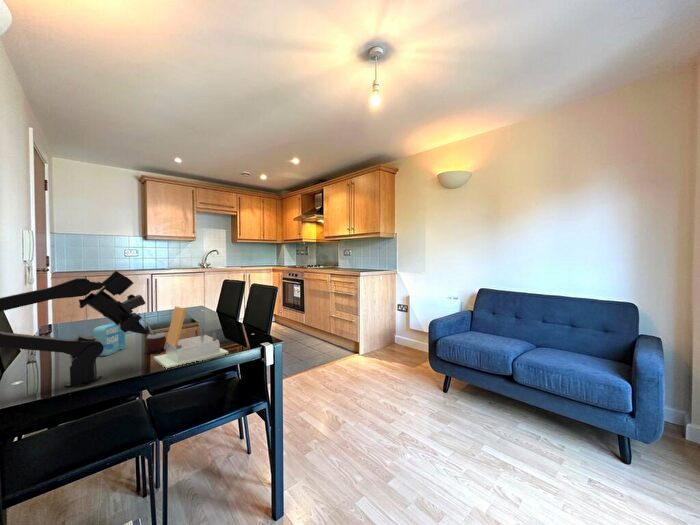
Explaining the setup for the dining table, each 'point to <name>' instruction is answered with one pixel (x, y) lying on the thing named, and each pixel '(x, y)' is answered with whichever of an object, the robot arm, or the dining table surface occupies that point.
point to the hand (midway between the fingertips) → (146, 333)
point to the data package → (110, 338)
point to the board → (169, 362)
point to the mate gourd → (155, 341)
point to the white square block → (193, 348)
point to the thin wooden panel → (176, 326)
